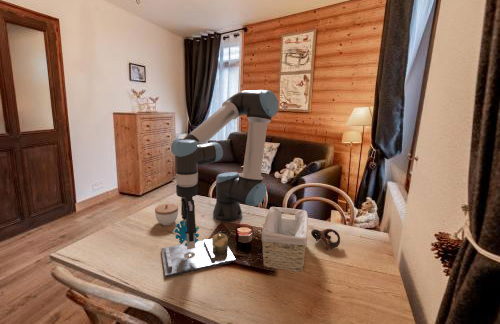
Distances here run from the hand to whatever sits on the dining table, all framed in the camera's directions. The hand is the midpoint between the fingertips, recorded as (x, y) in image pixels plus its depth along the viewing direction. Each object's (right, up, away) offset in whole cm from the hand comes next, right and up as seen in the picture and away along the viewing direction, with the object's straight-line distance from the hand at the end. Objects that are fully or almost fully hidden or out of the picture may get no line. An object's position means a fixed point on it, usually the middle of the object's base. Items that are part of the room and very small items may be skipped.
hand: (188, 241), depth 93 cm
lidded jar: (-18, 0, +29) cm, 34 cm away
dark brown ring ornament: (+55, -6, +14) cm, 57 cm away
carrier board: (+3, -7, +3) cm, 8 cm away
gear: (0, 0, 0) cm, 0 cm away
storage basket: (+37, -7, +6) cm, 38 cm away
